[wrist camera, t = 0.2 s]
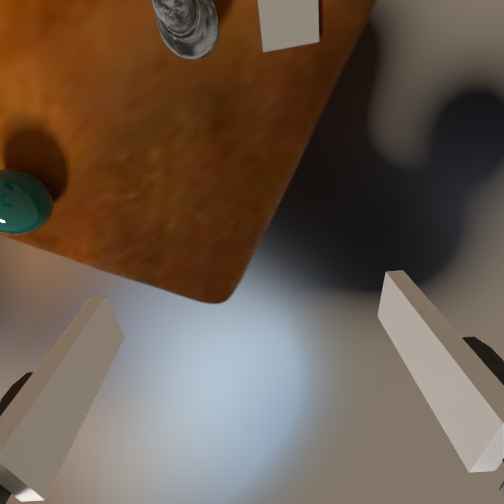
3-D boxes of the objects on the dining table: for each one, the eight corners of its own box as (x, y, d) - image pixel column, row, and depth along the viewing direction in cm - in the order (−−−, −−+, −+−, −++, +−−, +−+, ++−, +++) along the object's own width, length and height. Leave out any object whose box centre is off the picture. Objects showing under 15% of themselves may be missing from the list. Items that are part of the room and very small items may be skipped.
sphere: (40, 154, 35) (-9, 169, 28) (78, 209, 39) (42, 235, 32) (-11, 173, 36) (-71, 192, 29) (30, 225, 40) (-14, 253, 33)
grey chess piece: (207, -20, 27) (184, -87, 17) (229, 50, 30) (220, 28, 20) (155, 6, 28) (102, -44, 18) (180, 70, 31) (148, 60, 21)
